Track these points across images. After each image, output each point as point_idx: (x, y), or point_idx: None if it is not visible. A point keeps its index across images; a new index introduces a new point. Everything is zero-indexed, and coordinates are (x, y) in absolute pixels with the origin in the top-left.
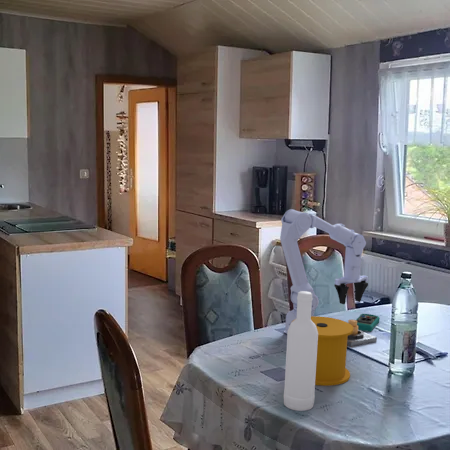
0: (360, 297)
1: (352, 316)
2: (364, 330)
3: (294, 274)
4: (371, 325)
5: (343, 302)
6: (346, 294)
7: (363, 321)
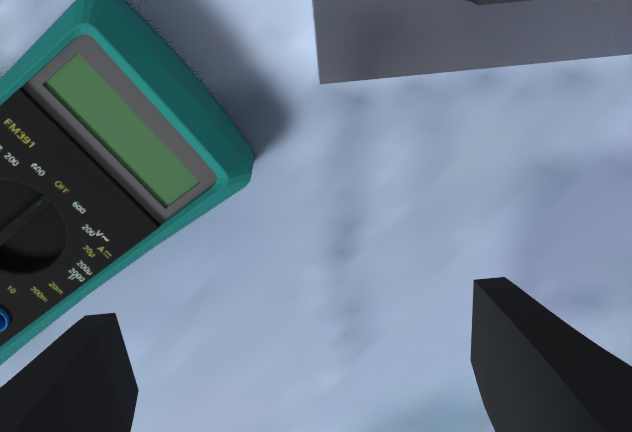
0: (72, 357)
1: None
2: (166, 43)
3: None
4: (68, 21)
5: (526, 296)
6: (570, 392)
7: (86, 182)
